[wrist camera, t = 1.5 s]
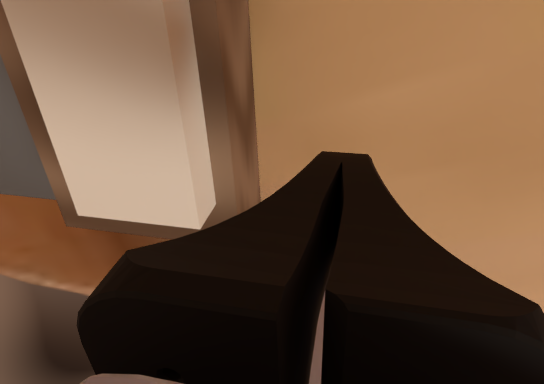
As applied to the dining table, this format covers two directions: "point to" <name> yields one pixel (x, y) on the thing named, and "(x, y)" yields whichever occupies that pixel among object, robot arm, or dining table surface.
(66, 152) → the beige flat block
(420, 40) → the dining table surface
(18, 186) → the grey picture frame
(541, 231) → the dining table surface
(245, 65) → the deck
